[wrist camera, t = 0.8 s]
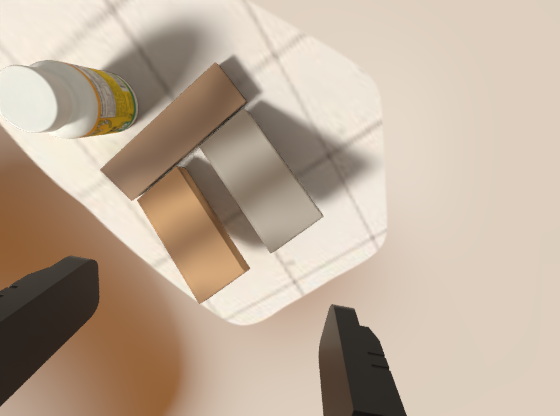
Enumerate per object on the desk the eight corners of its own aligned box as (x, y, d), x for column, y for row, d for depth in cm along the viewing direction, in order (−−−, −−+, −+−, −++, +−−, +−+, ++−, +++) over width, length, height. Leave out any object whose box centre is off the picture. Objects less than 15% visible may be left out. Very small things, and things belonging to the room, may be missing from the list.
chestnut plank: (147, 200, 30) (137, 200, 28) (185, 168, 29) (176, 166, 27) (207, 299, 28) (199, 304, 26) (250, 268, 27) (244, 272, 25)
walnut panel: (109, 166, 29) (99, 169, 27) (218, 65, 26) (215, 62, 24) (138, 196, 30) (131, 200, 28) (247, 102, 27) (245, 101, 25)
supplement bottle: (135, 72, 26) (57, 52, 17) (144, 132, 28) (78, 143, 19) (76, 72, 26) (-34, 51, 17) (88, 132, 28) (-4, 143, 18)
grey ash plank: (207, 149, 28) (199, 146, 26) (249, 113, 27) (243, 108, 25) (275, 251, 26) (270, 253, 24) (323, 216, 25) (322, 216, 23)
